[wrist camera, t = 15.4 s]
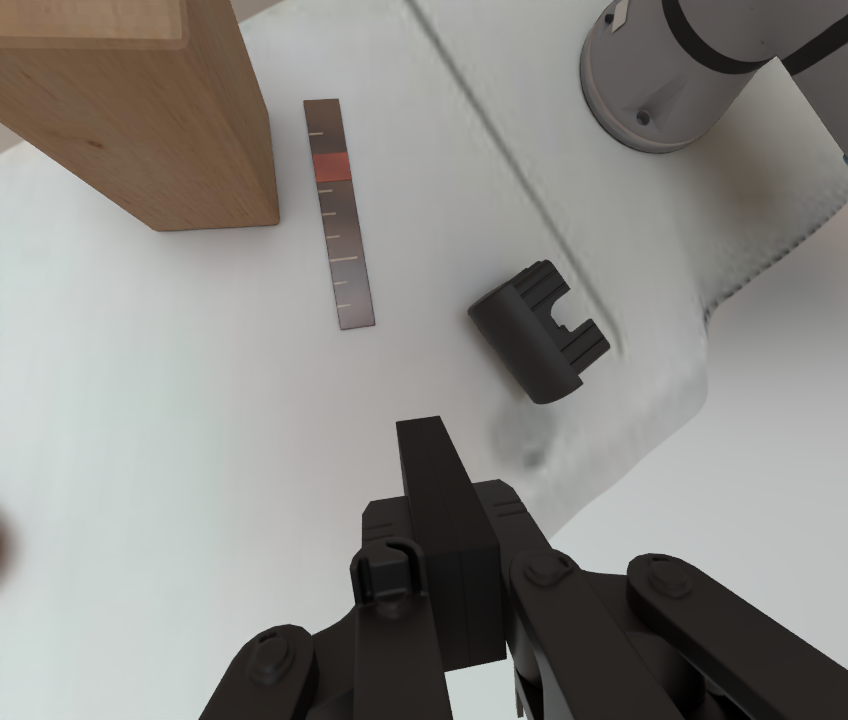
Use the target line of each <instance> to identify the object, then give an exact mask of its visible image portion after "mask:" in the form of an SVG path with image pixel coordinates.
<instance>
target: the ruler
mask: <svg viewBox="0 0 848 720" xmlns="http://www.w3.org/2000/svg"><path fill="white" fill-rule="evenodd" d="M303 102H304V108H305V114H306V120H307V126H308V133H309V139H310V145H311V151H312V157H313V163H314V170H315V176H316V182H317V188H318V194H319V200H320V206H321V212H322V219H323V225H324V231H325V237H326V243H327V249H328V255H329V262H330V268H331V274H332V280H333V286H334V292H335V298H336V304H337V311H338V317H339V323H340V329H341V330H346V329H353V328H359V327H366V326H373V325H375V320H374V314H373V308H372V302H371V296H370V289H369V283H368V277H367V271H366V265H365V259H364V253H363V246H362V240H361V234H360V228H359V222H358V216H357V210H356V204H355V197H354V191H353V185H352V178H351V172H350V166H349V160H348V154H347V148H346V142H345V136H344V130H343V124H342V118H341V112H340V105H339V99H323V100H304V101H303Z"/></svg>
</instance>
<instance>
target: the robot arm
mask: <svg viewBox="0 0 848 720" xmlns="http://www.w3.org/2000/svg"><path fill="white" fill-rule="evenodd" d="M775 56H777V57H778V58H779V60H780V61H781V62H782V64H783V65H784V67H785V68H786V69H787V71H788V72H789V74H790V75H791V77H792V79H793V80H794V82H795V83H796V85H797V86H798V88H799V89H800V90H801V92H802V93H803V95H804V96H805V98H806V99H807V101H808V102H809V103H810V105H811V106H812V108H813V109H814V111H815V112H816V114H817V115H818V117H819V118H820V119H821V121H822V122H823V124H824V125H825V127H826V128H827V130H828V131H829V133H830V134H831V135H832V137H833V138H834V140H835V141H836V143H837V144H838V146H839V147H840V149H841V150H842V151H843V153H844V155H843V159H844V161H845V163H846V164H847V166H848V0H614V1H613V2H612V3H611V4H610V5H609V6H608V7H607V8H606V9H605V10H604V11H603V13H602V14H601V16H600V17H599V19H598V20H597V22H596V23H595V24H594V26H593V27H592V29H591V30H590V32H589V34H588V36H587V38H586V40H585V43H584V46H583V50H582V55H581V64H580V67H581V81H582V86H583V90H584V93H585V96H586V99H587V102H588V104H589V106H590V108H591V110H592V112H593V113H594V115H595V116H596V118H597V119H598V121H599V122H600V123H601V124H602V126H603V127H604V128H605V129H606V130H607V131H608V132H609V133H610V134H611V135H613V136H614V137H615V138H616V139H618V140H619V141H621V142H622V143H624V144H626V145H628V146H630V147H632V148H635V149H638V150H641V151H645V152H651V153H665V152H671V151H675V150H678V149H681V148H683V147H685V146H687V145H688V144H690V143H691V142H693V141H694V140H696V139H697V138H698V137H700V136H701V135H703V134H704V133H706V132H707V131H708V130H709V129H710V128H711V127H712V126H713V125H714V124H715V123H716V122H717V121H718V120H719V119H720V117H721V116H722V115H723V113H724V112H725V111H726V110H727V108H728V107H729V106H730V105H731V103H732V102H733V101H734V100H735V98H736V97H737V96H738V95H739V93H740V92H741V91H742V89H743V88H744V87H745V86H746V84H747V83H748V82H749V81H750V79H751V78H752V77H753V76H754V74H755V73H756V72H757V70H758V69H760V68H761V67H762V66H764V65H765V64H766V63H767V62H769V61H770V60H771V59H773V58H774V57H775ZM396 428H397V437H398V445H399V453H400V461H401V470H402V478H403V486H404V494H405V496H400V497H394V498H388V499H382V500H375V501H370V503H369V504H368V506H367V507H366V509H365V511H364V512H363V514H362V548H361V549H360V550H359V551H358V552H357V553H356V555H355V556H354V557H353V559H352V562H351V565H350V574H351V580H352V586H353V592H354V598H355V606H354V607H353V608H352V610H351V611H350V612H349V613H348V614H347V615H346V616H345V617H344V618H342V619H341V620H340V621H339V622H337V623H335V624H334V625H332V626H330V627H328V628H326V629H324V630H322V631H320V632H318V633H316V634H314V635H312V636H311V634H310V633H309V632H307V631H306V630H305V629H304V628H303V627H300V626H296V625H291V624H287V625H280V626H274V627H272V628H270V629H268V630H265V631H263V632H261V633H259V634H257V635H256V636H255V637H254V638H252V639H251V640H250V641H249V642H247V643H246V644H245V645H244V646H243V647H242V648H241V650H240V651H239V652H238V654H237V655H236V656H235V657H234V659H233V660H232V662H231V664H230V665H229V667H228V669H227V671H226V672H225V674H224V676H223V678H222V679H221V681H220V683H219V685H218V686H217V688H216V690H215V692H214V693H213V695H212V697H211V699H210V700H209V702H208V704H207V705H206V707H205V709H204V711H203V712H202V714H201V716H200V718H199V719H198V720H453V716H452V711H451V706H450V700H449V695H448V690H447V684H446V679H445V674H444V672H448V671H452V670H457V669H462V668H467V667H471V666H476V665H481V664H486V663H490V662H495V661H500V660H505V659H507V653H506V642H507V644H508V647H509V650H510V652H511V655H512V658H513V660H514V676H515V695H516V708H517V715H518V718H519V717H523V708H524V710H525V713H526V716H527V719H528V720H848V670H847V669H845V668H844V667H842V666H841V665H839V664H838V663H836V662H835V661H833V660H832V659H830V658H829V657H827V656H826V655H825V654H823V653H822V652H820V651H819V650H817V649H816V648H814V647H813V646H811V645H810V644H808V643H807V642H805V641H804V640H803V639H801V638H800V637H798V636H797V635H795V634H794V633H792V632H791V631H789V630H788V629H786V628H785V627H783V626H782V625H780V624H779V623H777V622H776V621H774V620H773V619H771V618H770V617H768V616H767V615H765V614H764V613H762V612H761V611H760V610H758V609H757V608H755V607H754V606H752V605H751V604H749V603H748V602H746V601H745V600H744V599H742V598H740V597H739V596H738V595H736V594H735V593H733V592H732V591H730V590H729V589H727V588H726V587H724V586H723V585H721V584H720V583H718V582H717V581H715V580H714V579H712V578H711V577H710V576H708V575H706V574H705V573H704V572H702V571H701V570H699V569H698V568H696V567H695V566H693V565H691V564H689V563H687V562H685V561H683V560H681V559H679V558H676V557H672V556H669V555H665V554H653V553H648V554H644V555H639V556H637V557H635V558H634V559H633V560H632V561H630V562H629V565H628V568H627V575H617V574H603V573H595V572H588V571H585V570H582V569H580V567H579V566H578V565H577V564H576V562H574V560H572V559H571V558H570V557H569V556H568V555H566V554H564V553H562V552H560V551H558V550H555V549H552V547H551V546H550V544H549V543H548V541H547V540H546V538H545V536H544V535H543V533H542V532H541V530H540V529H539V527H538V526H537V524H536V523H535V521H534V519H533V518H532V516H531V515H530V513H529V512H527V509H526V507H525V506H524V504H523V502H521V499H520V498H519V496H518V495H517V493H516V492H515V490H514V489H513V488H512V487H511V486H509V485H508V484H506V483H505V482H503V481H501V480H500V479H497V480H490V481H484V482H478V483H471V481H470V479H469V477H468V475H467V472H466V470H465V468H464V466H463V464H462V462H461V460H460V458H459V456H458V453H457V451H456V449H455V447H454V445H453V443H452V441H451V439H450V437H449V434H448V432H447V430H446V428H445V426H444V424H443V422H442V420H441V418H440V416H433V417H426V418H419V419H412V420H405V421H398V422H396Z"/></svg>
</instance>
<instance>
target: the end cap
mask: <svg viewBox="0 0 848 720" xmlns="http://www.w3.org/2000/svg"><path fill="white" fill-rule="evenodd" d="M569 290H570V288H569V286H568V285H567V283H566V282H565V281H564V279H563V278H562V276H561V275H560V273H559V272H558V271H557V269H556V268H555V266H554V265H553V264H552V263H551V262H550V261H549V260H544V261H542V262H541V261H537V262H536V263H534V264H533V265H532V266H530V267H529V268H525V269H524V270H523V271H522V272H520V273H519V274H518V275H516V276H515V277H514V278H512V279H511V280H510V281H507V282H506V283H504V284H502V285H501V286H499V287H497V288H496V289H494V290H492V291H491V292H489V293H487V294H486V295H484V296H483V297H482V298H480V299H479V300H478V301H477V302H475V303H474V304H473V305H472V306H471V307H470V308H469V309H468V311H467V312H468V314H469V315H470V317H471V318H472V319H473V321H474V322H475V323H476V325H477V326H478V328H479V329H480V330H481V332H482V333H483V334H484V336H485V337H486V338H487V340H488V341H489V342H490V344H491V345H492V347H493V348H494V349H495V351H496V352H497V353H498V355H499V356H500V357H501V359H502V360H503V361H504V363H505V364H506V365H507V367H508V368H509V370H510V371H511V372H512V374H513V375H514V376H515V378H516V379H517V380H518V382H519V383H520V384H521V386H522V387H523V389H524V390H525V391H526V393H527V394H528V395H529V397H530V398H531V399H532V401H533V402H534V403H536V404H548V403H551V402H554V401H557V400H559V399H561V398H563V397H565V396H567V395H568V394H570V393H572V392H573V391H575V390H576V389H578V388H579V387H580V386H581V385H583V382H582V380H581V379H580V378H579V376H578V375H579V374H580V373H581V372H583V371H584V370H585V369H586V368H587V367H589V366H590V365H591V364H592V363H593V362H594V361H596V360H597V359H598V358H599V357H600V356H602V355H603V354H604V353H605V352H606V351H608V350H609V349H610V344H609V342H608V341H607V340H606V338H605V337H604V335H603V334H602V333H601V331H600V330H599V328H598V327H597V326H596V324H595V323H594V321H593V320H592V319H588V320H587V321H585V322H584V323H583V324H582V325H580V326H579V327H578V328H577V329H576V330H574V331H573V332H569V331H568V329H567V328H566V327H565V325H561V326H560V327H559V326H558V325H557V324H556V322H555V321H554V319H553V318H552V317H551V308H552V306H553V304H554V302H555V301H556V300H557V299H559V298H560V297H561V296H562V295H564V294H565V293H566V292H567V291H569Z"/></svg>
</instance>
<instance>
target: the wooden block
mask: <svg viewBox="0 0 848 720" xmlns="http://www.w3.org/2000/svg"><path fill="white" fill-rule="evenodd" d="M0 122H1V123H2V124H3V125H5V126H6V127H8V128H9V129H11V130H12V131H14V132H15V133H17V134H18V135H19V136H20V137H22V138H23V139H25V140H26V141H28V142H29V143H30V144H32V145H33V146H35V147H36V148H38V149H39V150H40V151H42V152H43V153H45V154H46V155H48V156H49V157H50V158H52V159H53V160H55V161H56V162H58V163H59V164H60V165H62V166H63V167H65V168H66V169H67V170H69V171H70V172H72V173H73V174H75V175H76V176H77V177H79V178H80V179H82V180H83V181H85V182H86V183H87V184H89V185H90V186H92V187H93V188H95V189H96V190H97V191H99V192H100V193H102V194H103V195H105V196H106V197H107V198H109V199H110V200H112V201H113V202H114V203H116V204H117V205H119V206H120V207H122V208H123V209H124V210H126V211H127V212H129V213H130V214H132V215H133V216H134V217H136V218H137V219H139V220H140V221H142V222H143V223H144V224H146V225H147V226H149V227H150V228H152V229H153V230H156V231H166V230H184V229H203V228H222V227H241V226H259V225H275V224H277V223H278V222H279V219H280V217H279V208H278V199H277V190H276V180H275V171H274V162H273V153H272V144H271V135H270V126H269V117H268V111H267V108H266V106H265V103H264V100H263V97H262V94H261V91H260V88H259V85H258V82H257V79H256V76H255V73H254V70H253V67H252V64H251V61H250V58H249V55H248V53H247V50H246V47H245V44H244V41H243V38H242V35H241V32H240V29H239V26H238V23H237V21H236V17H235V15H234V12H233V9H232V6H231V2H230V0H0Z"/></svg>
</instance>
